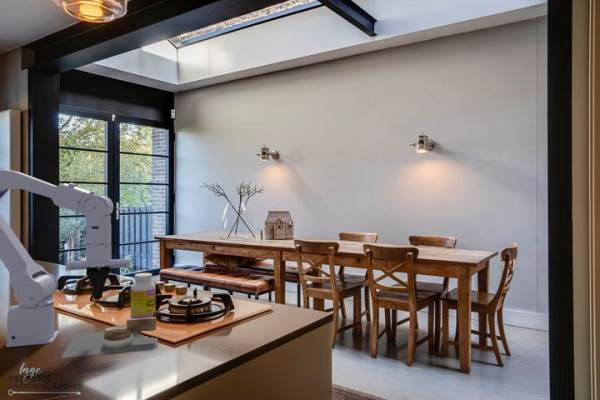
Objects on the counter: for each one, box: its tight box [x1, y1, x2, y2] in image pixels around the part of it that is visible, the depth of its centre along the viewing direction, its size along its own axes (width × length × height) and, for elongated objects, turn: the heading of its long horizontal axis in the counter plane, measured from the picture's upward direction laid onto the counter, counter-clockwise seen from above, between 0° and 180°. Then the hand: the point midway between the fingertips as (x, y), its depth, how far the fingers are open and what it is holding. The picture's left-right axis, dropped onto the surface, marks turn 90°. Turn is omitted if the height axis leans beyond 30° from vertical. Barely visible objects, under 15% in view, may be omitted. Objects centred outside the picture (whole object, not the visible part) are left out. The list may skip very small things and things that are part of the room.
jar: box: [103, 335, 132, 348], centre depth 100 cm, size 6×6×2 cm
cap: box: [103, 316, 157, 341], centre depth 101 cm, size 12×6×4 cm, turn 106°
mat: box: [60, 330, 159, 359], centre depth 102 cm, size 20×16×1 cm
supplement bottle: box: [130, 272, 157, 319], centre depth 120 cm, size 7×7×13 cm
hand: (99, 297), depth 105 cm, fingers closed
